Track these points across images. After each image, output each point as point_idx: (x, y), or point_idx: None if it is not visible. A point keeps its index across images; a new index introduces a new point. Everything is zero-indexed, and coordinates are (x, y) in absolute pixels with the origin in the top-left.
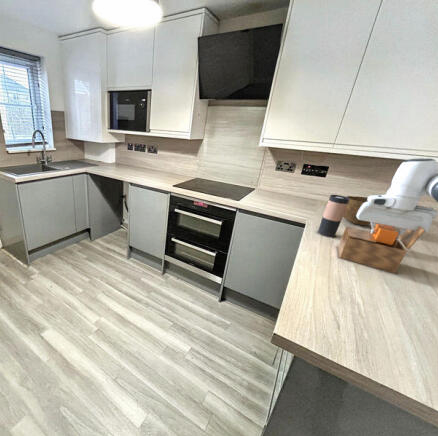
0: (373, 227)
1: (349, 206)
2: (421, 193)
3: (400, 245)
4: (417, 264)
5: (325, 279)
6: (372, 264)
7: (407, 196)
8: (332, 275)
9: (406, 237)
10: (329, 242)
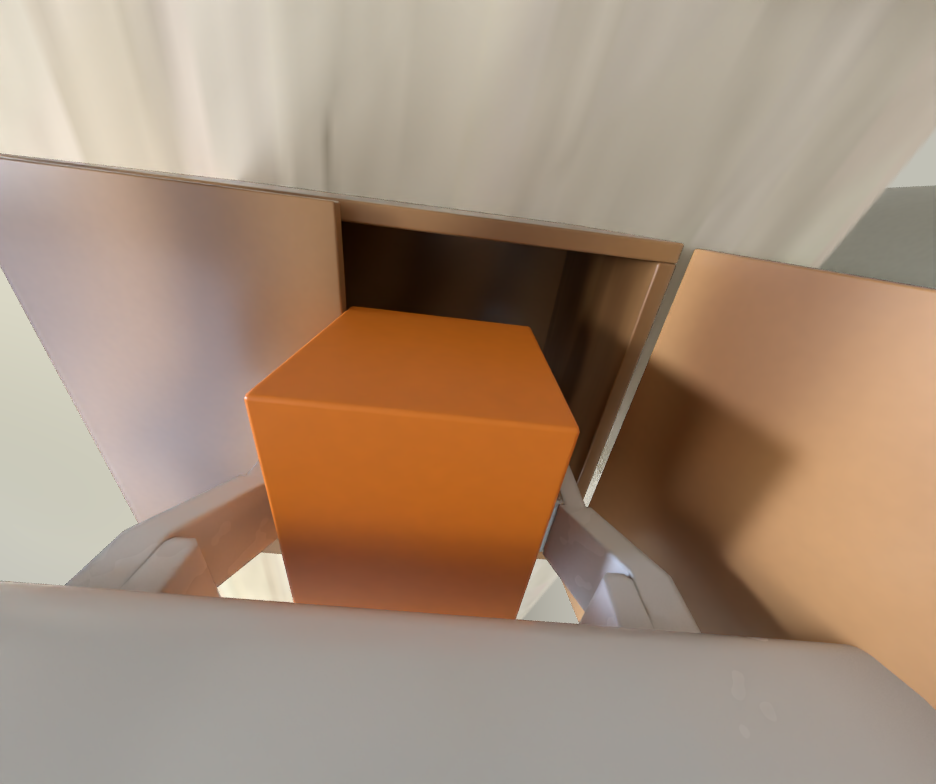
0: (234, 561)
1: None
2: None
3: (586, 448)
4: (803, 163)
5: (266, 600)
6: None
7: None
8: (280, 572)
9: (664, 501)
10: (145, 87)
